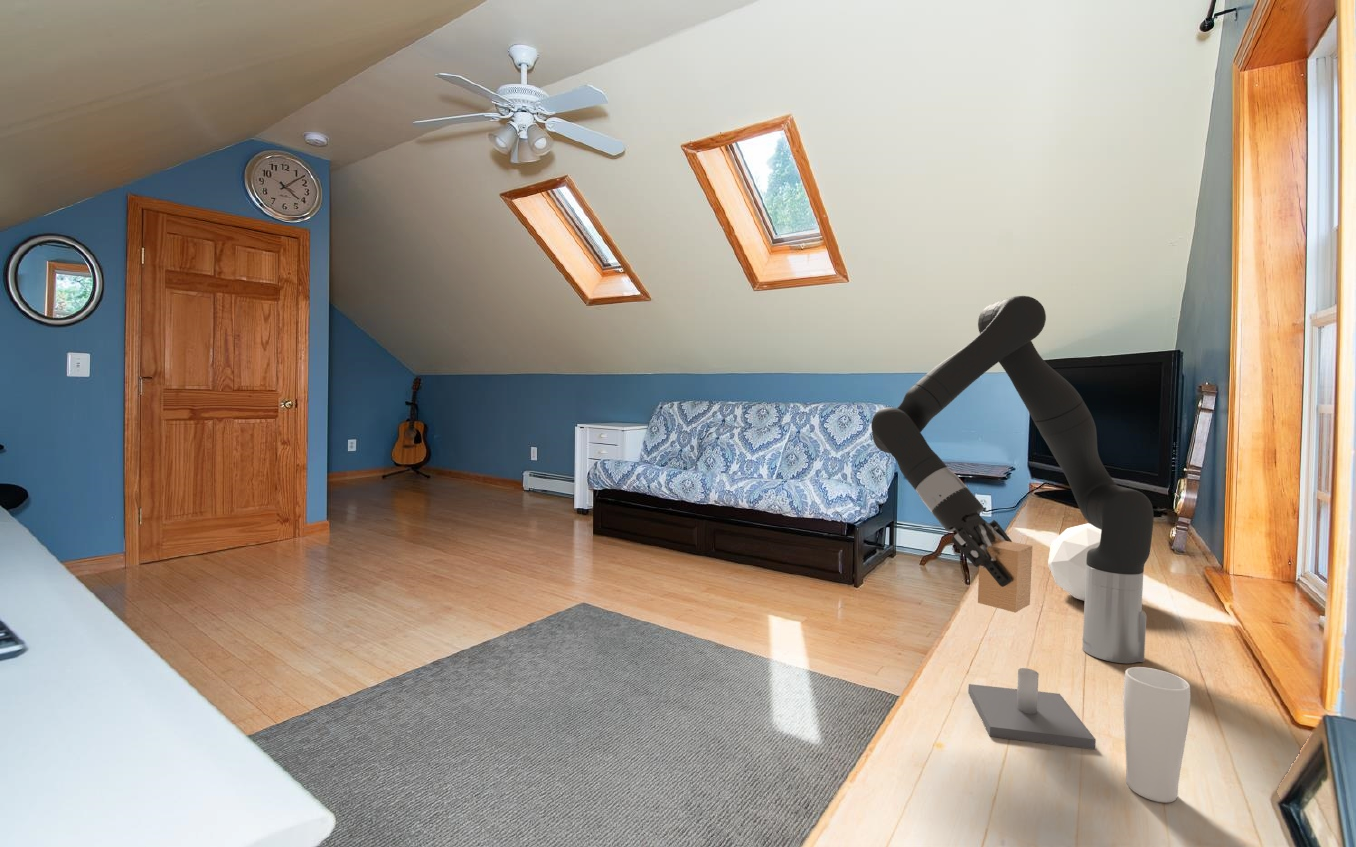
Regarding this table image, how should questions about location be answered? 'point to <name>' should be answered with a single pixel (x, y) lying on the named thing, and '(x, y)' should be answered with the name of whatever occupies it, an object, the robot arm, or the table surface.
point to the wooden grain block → (1018, 567)
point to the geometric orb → (1073, 557)
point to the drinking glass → (1155, 731)
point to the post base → (1029, 713)
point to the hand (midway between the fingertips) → (1015, 579)
